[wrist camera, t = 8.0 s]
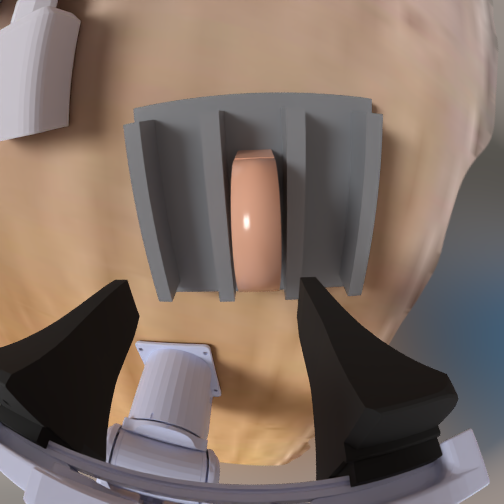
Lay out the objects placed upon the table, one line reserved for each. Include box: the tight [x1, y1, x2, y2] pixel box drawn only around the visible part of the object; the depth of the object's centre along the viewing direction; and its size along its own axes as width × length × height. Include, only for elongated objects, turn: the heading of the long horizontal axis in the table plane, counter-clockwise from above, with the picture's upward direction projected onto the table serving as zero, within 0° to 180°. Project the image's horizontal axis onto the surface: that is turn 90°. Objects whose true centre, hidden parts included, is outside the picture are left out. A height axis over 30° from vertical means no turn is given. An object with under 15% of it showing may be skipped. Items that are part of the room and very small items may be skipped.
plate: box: [231, 149, 281, 292], centre depth 15 cm, size 7×2×7 cm, turn 3°
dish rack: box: [123, 93, 383, 302], centre depth 17 cm, size 14×15×4 cm
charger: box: [0, 0, 81, 141], centre depth 10 cm, size 5×9×15 cm
